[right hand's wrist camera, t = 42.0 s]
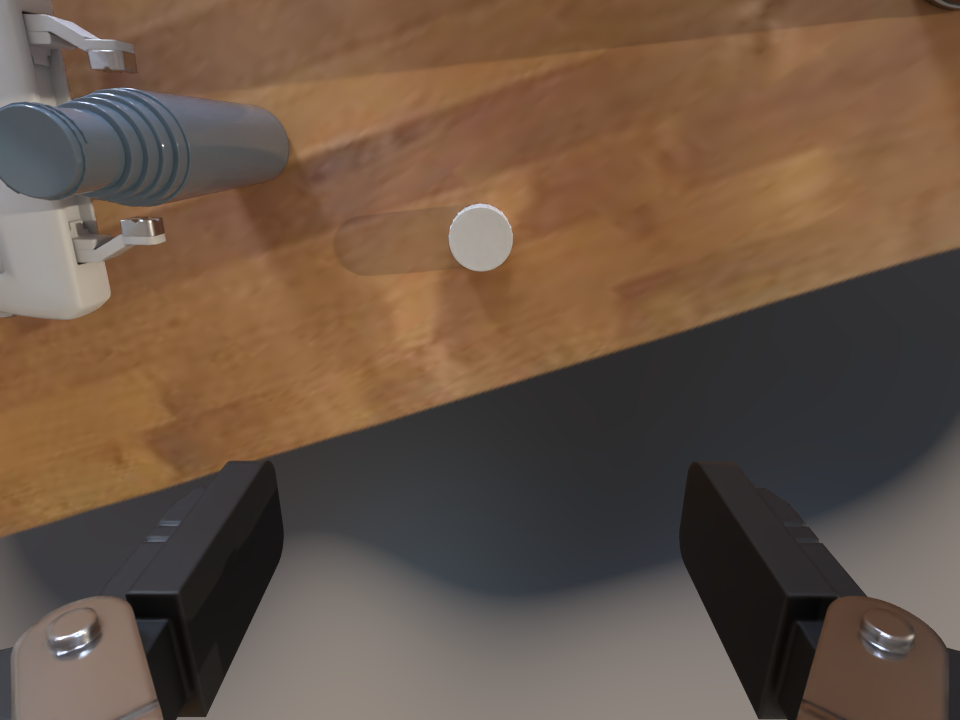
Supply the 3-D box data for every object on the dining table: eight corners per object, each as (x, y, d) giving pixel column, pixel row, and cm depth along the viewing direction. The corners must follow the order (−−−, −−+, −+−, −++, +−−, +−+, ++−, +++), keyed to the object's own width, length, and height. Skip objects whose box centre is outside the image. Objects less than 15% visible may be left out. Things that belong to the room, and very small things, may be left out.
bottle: (240, 87, 39) (-8, 37, 19) (303, 140, 40) (131, 144, 20) (200, 148, 40) (-70, 161, 20) (262, 198, 41) (63, 255, 21)
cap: (488, 277, 43) (488, 284, 41) (437, 243, 42) (435, 248, 40) (524, 227, 42) (526, 231, 40) (472, 190, 41) (472, 192, 39)
